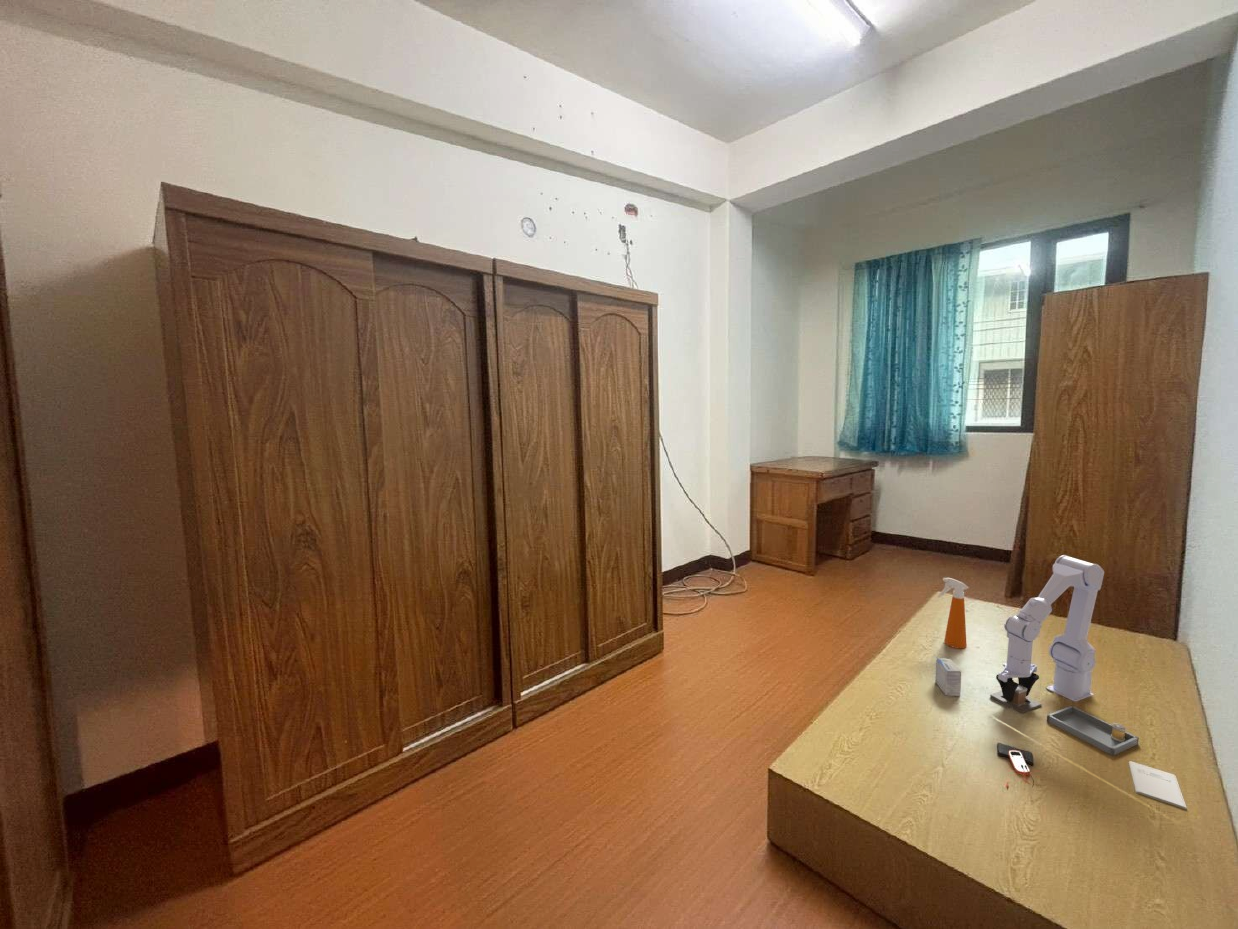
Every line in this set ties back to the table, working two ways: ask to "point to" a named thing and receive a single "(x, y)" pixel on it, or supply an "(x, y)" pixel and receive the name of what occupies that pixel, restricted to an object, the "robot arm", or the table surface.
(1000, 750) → the multimeter
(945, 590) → the spray bottle
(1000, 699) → the grey square frame
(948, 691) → the medicine box
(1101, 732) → the parts tray
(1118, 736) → the cylinder
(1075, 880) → the table surface
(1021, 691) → the block
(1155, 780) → the external hard drive
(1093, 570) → the robot arm
